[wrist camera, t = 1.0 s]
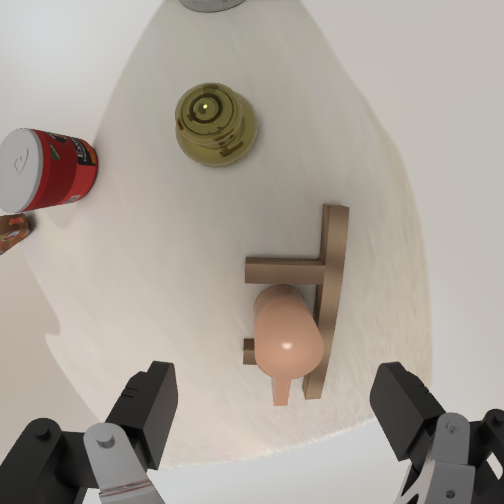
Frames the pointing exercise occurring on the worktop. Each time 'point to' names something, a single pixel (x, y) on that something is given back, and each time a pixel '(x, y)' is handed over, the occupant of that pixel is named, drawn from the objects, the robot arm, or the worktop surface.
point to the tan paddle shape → (285, 338)
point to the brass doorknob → (215, 125)
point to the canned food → (44, 170)
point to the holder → (310, 272)
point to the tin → (12, 230)
